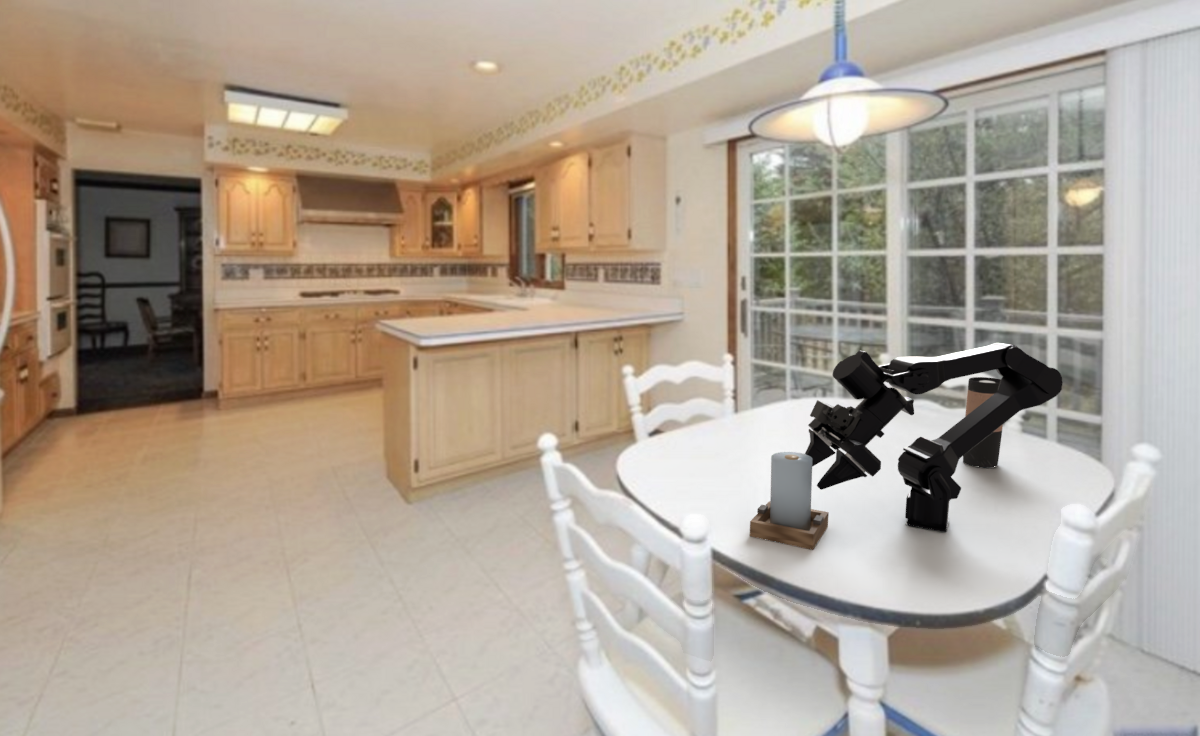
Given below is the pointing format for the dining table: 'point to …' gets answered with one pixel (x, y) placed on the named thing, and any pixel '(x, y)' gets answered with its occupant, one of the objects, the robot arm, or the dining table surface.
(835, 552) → the dining table surface
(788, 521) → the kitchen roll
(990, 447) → the travel mug
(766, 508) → the square wooden tray
